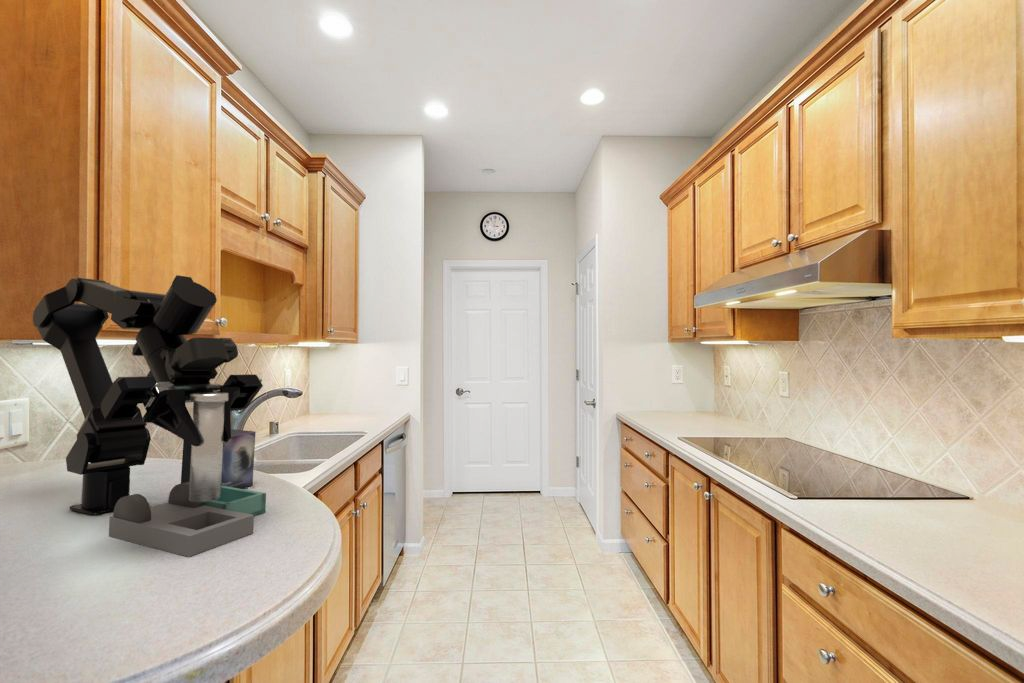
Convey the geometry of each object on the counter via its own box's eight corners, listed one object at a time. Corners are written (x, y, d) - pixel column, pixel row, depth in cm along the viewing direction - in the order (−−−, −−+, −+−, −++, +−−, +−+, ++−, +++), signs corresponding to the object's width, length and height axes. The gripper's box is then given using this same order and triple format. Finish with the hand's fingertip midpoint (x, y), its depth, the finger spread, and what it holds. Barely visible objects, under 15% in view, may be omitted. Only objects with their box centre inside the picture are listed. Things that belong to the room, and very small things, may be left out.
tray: (179, 515, 74) (180, 495, 74) (220, 503, 80) (221, 485, 81) (225, 525, 70) (226, 504, 71) (265, 512, 77) (266, 493, 77)
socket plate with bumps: (108, 536, 66) (110, 493, 66) (176, 516, 74) (178, 479, 74) (189, 557, 59) (191, 510, 60) (253, 533, 68) (254, 492, 68)
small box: (210, 501, 82) (212, 438, 82) (177, 498, 83) (180, 436, 83) (255, 485, 92) (257, 430, 92) (225, 483, 93) (227, 428, 94)
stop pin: (177, 500, 64) (182, 393, 65) (208, 491, 68) (213, 391, 69) (200, 504, 63) (205, 395, 63) (231, 496, 67) (236, 393, 67)
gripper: (117, 311, 60) (163, 407, 54) (257, 322, 76) (303, 397, 71) (82, 373, 63) (122, 470, 58) (224, 371, 80) (265, 446, 74)
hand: (213, 442), depth 65 cm, fingers closed on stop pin, 4 cm apart
